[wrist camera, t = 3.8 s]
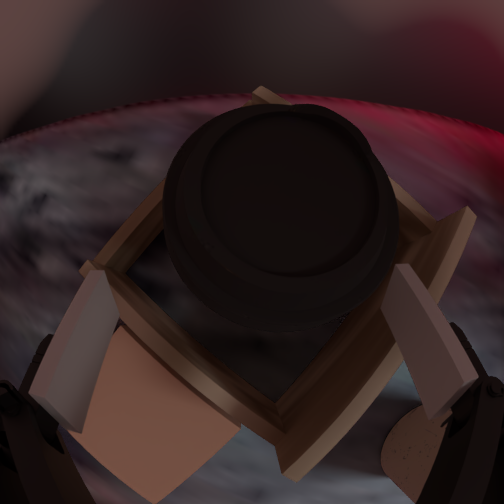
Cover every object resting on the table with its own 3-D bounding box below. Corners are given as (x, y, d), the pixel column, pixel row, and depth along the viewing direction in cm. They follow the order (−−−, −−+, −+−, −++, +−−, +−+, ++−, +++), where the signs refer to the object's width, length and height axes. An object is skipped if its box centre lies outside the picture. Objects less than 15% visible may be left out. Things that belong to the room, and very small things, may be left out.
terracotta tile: (240, 421, 21) (240, 428, 19) (158, 496, 19) (154, 504, 17) (127, 324, 22) (120, 325, 20) (61, 411, 20) (53, 415, 18)
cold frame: (404, 249, 24) (476, 216, 14) (276, 418, 21) (296, 482, 11) (249, 126, 26) (251, 46, 16) (110, 274, 23) (38, 249, 13)
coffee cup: (275, 343, 22) (329, 398, 7) (182, 273, 23) (88, 212, 8) (339, 251, 24) (452, 171, 9) (250, 187, 24) (258, 45, 10)
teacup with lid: (367, 486, 19) (421, 553, 8) (387, 405, 21) (469, 451, 10) (458, 462, 19) (522, 497, 8) (477, 389, 21) (557, 406, 10)
